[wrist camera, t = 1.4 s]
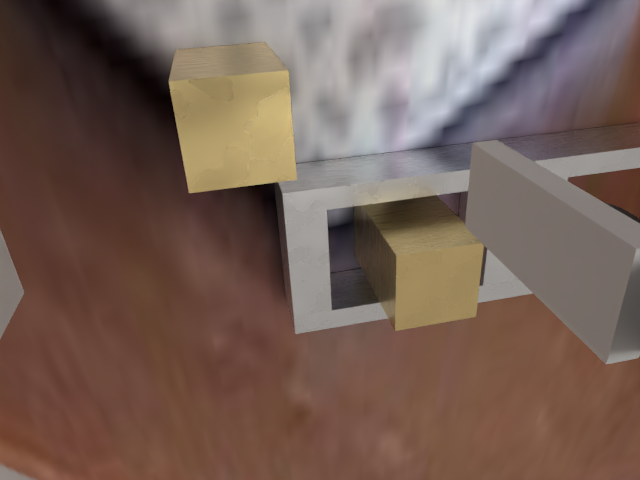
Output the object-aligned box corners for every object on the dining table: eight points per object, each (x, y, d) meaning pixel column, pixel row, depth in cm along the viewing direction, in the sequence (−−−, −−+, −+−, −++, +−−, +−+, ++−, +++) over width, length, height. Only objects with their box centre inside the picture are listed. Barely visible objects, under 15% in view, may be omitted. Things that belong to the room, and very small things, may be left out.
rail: (272, 166, 30) (282, 193, 27) (696, 115, 35) (752, 132, 31) (285, 296, 35) (295, 334, 31) (661, 236, 39) (706, 263, 36)
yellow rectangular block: (175, 49, 27) (168, 81, 20) (264, 42, 27) (288, 70, 20) (190, 136, 29) (189, 193, 22) (273, 127, 29) (296, 179, 22)
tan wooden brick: (353, 192, 32) (396, 255, 25) (423, 182, 33) (484, 242, 26) (354, 256, 34) (394, 330, 27) (420, 245, 35) (476, 316, 28)
